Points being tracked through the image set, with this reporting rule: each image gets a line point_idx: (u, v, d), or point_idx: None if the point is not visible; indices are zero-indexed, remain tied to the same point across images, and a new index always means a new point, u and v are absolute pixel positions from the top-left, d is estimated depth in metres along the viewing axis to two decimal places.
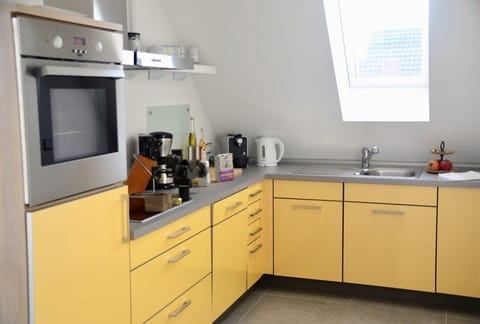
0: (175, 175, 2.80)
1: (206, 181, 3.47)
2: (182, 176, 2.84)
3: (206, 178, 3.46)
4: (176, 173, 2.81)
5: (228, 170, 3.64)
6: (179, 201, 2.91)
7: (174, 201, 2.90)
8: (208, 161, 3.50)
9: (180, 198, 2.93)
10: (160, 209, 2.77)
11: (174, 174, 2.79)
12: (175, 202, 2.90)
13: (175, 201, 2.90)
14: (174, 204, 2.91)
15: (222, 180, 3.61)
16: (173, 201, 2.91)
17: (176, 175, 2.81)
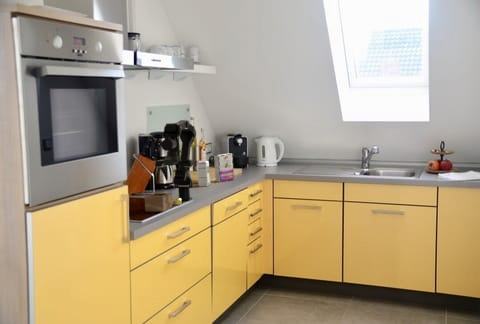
0: (185, 176, 2.90)
1: (206, 181, 3.47)
2: (189, 167, 2.91)
3: (206, 178, 3.46)
4: (185, 174, 2.89)
5: (228, 170, 3.64)
6: (179, 201, 2.91)
7: (174, 201, 2.90)
8: (208, 161, 3.50)
9: (180, 198, 2.93)
10: (160, 209, 2.77)
11: (185, 177, 2.90)
12: (175, 202, 2.90)
13: (175, 201, 2.90)
14: (174, 204, 2.91)
15: (222, 180, 3.61)
16: (173, 201, 2.91)
17: (186, 174, 2.90)
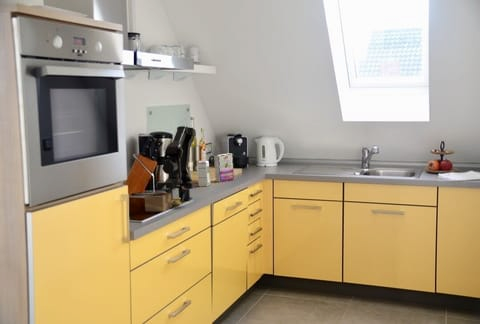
0: (183, 198, 2.92)
1: (206, 181, 3.47)
2: (187, 189, 2.92)
3: (206, 178, 3.46)
4: (183, 196, 2.91)
5: (228, 170, 3.64)
6: (179, 201, 2.91)
7: (174, 201, 2.90)
8: (208, 161, 3.50)
9: (180, 198, 2.93)
10: (160, 209, 2.77)
11: (182, 199, 2.92)
12: (175, 202, 2.90)
13: (175, 201, 2.90)
14: (174, 204, 2.91)
15: (222, 180, 3.61)
16: (173, 201, 2.91)
17: (183, 196, 2.92)
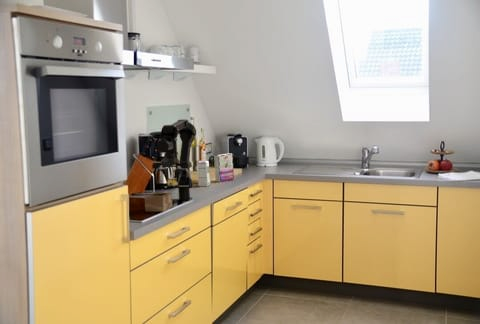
0: (179, 178, 2.89)
1: (206, 181, 3.47)
2: None
3: (206, 178, 3.46)
4: (179, 176, 2.88)
5: (228, 170, 3.64)
6: (175, 181, 2.88)
7: (170, 181, 2.87)
8: (208, 161, 3.50)
9: (176, 178, 2.90)
10: (160, 209, 2.77)
11: (178, 179, 2.89)
12: (171, 182, 2.87)
13: (171, 181, 2.87)
14: (170, 184, 2.88)
15: (222, 180, 3.61)
16: (169, 181, 2.88)
17: (180, 176, 2.89)
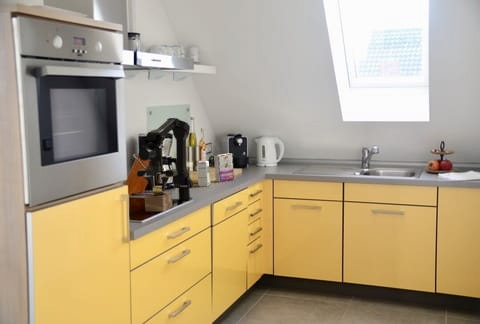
0: None
1: (206, 181, 3.47)
2: None
3: (206, 178, 3.46)
4: (164, 185, 2.81)
5: (228, 170, 3.64)
6: (160, 189, 2.80)
7: (155, 189, 2.80)
8: (208, 161, 3.50)
9: (161, 186, 2.82)
10: (160, 209, 2.77)
11: (164, 188, 2.81)
12: (156, 190, 2.80)
13: (156, 189, 2.80)
14: (155, 192, 2.80)
15: (222, 180, 3.61)
16: (154, 189, 2.80)
17: (165, 184, 2.82)
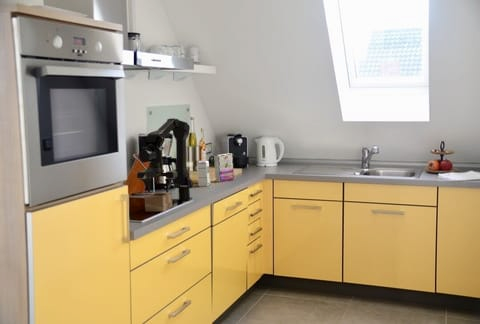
0: (168, 188, 2.81)
1: (206, 181, 3.47)
2: (172, 178, 2.81)
3: (206, 178, 3.46)
4: (168, 186, 2.80)
5: (228, 170, 3.64)
6: None
7: None
8: (208, 161, 3.50)
9: None
10: (160, 209, 2.77)
11: (168, 189, 2.81)
12: None
13: None
14: None
15: (222, 180, 3.61)
16: None
17: (169, 186, 2.81)
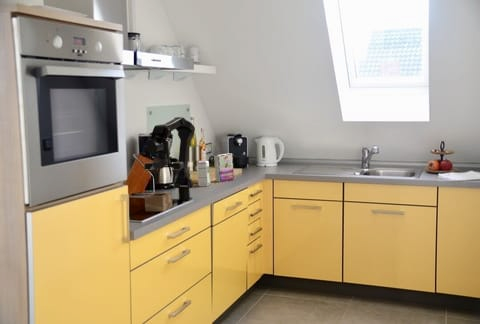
0: (175, 178, 2.86)
1: (206, 181, 3.47)
2: (179, 169, 2.86)
3: (206, 178, 3.46)
4: (175, 177, 2.85)
5: (228, 170, 3.64)
6: None
7: None
8: (208, 161, 3.50)
9: None
10: (160, 209, 2.77)
11: (175, 180, 2.86)
12: None
13: None
14: None
15: (222, 180, 3.61)
16: None
17: (176, 177, 2.86)
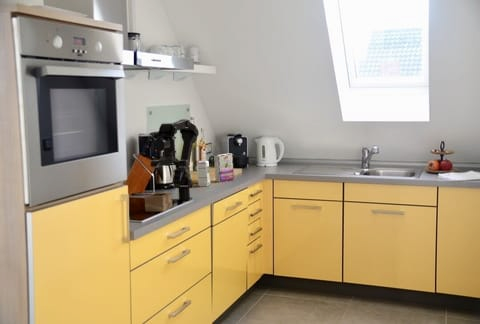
0: (181, 176, 2.90)
1: (206, 181, 3.47)
2: (185, 167, 2.90)
3: (206, 178, 3.46)
4: (181, 175, 2.89)
5: (228, 170, 3.64)
6: None
7: None
8: (208, 161, 3.50)
9: None
10: (160, 209, 2.77)
11: (180, 178, 2.90)
12: None
13: None
14: None
15: (222, 180, 3.61)
16: None
17: (181, 175, 2.90)
